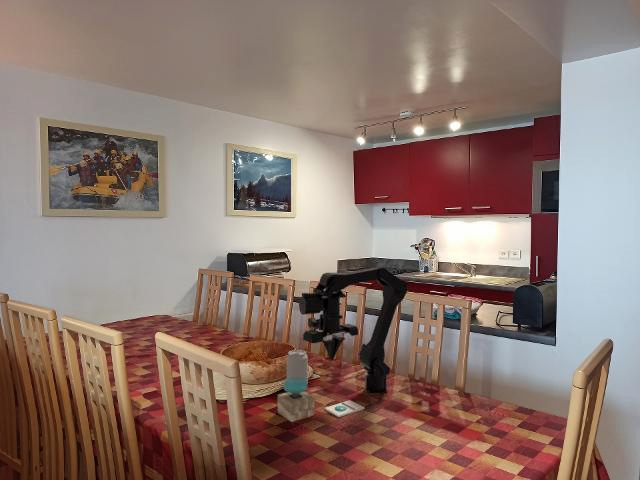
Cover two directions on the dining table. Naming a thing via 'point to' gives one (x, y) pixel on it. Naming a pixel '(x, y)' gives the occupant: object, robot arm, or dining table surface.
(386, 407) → the dining table surface
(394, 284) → the robot arm
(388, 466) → the dining table surface
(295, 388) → the button
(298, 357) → the can
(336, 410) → the pattern card
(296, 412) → the marble textured cube
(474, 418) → the dining table surface
